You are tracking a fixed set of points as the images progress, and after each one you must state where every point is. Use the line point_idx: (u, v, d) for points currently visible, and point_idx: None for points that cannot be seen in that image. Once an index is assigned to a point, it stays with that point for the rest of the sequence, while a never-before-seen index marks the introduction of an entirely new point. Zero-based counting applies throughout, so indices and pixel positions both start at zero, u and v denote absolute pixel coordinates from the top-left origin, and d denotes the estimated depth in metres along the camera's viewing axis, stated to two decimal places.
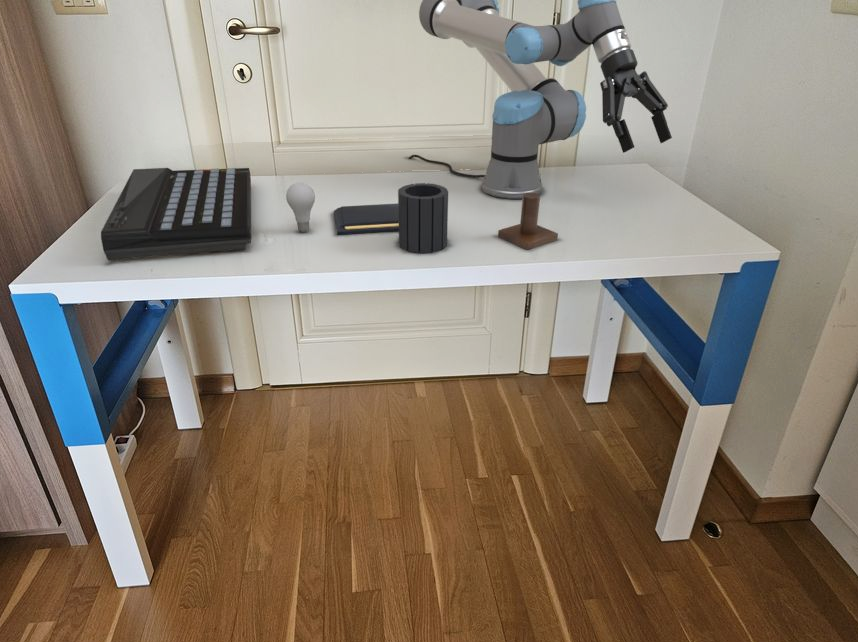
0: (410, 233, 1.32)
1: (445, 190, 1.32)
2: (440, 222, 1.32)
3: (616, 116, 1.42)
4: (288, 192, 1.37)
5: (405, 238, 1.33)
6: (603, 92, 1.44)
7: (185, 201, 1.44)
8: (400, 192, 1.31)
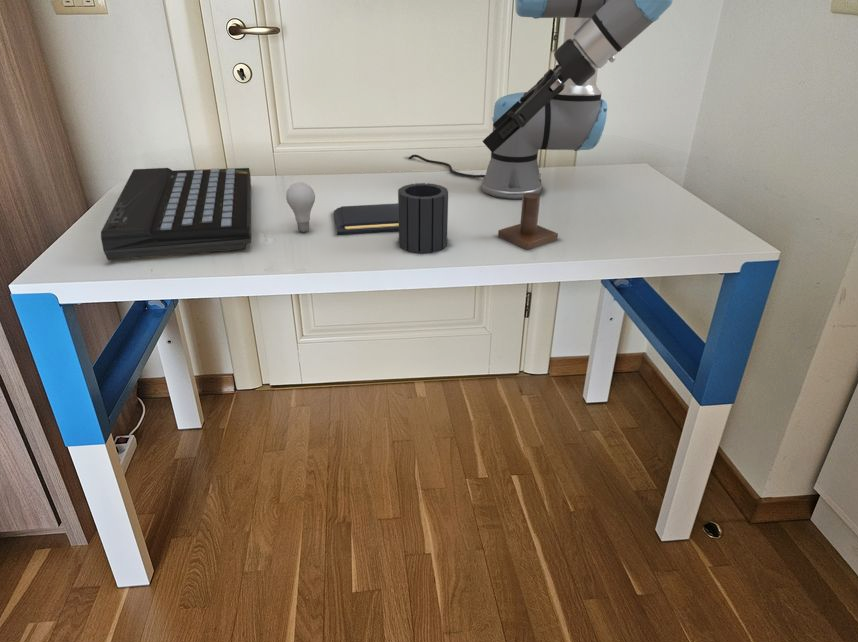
0: (410, 233, 1.32)
1: (445, 190, 1.32)
2: (440, 222, 1.32)
3: None
4: (288, 192, 1.37)
5: (405, 238, 1.33)
6: (545, 87, 1.10)
7: (185, 201, 1.44)
8: (400, 192, 1.31)
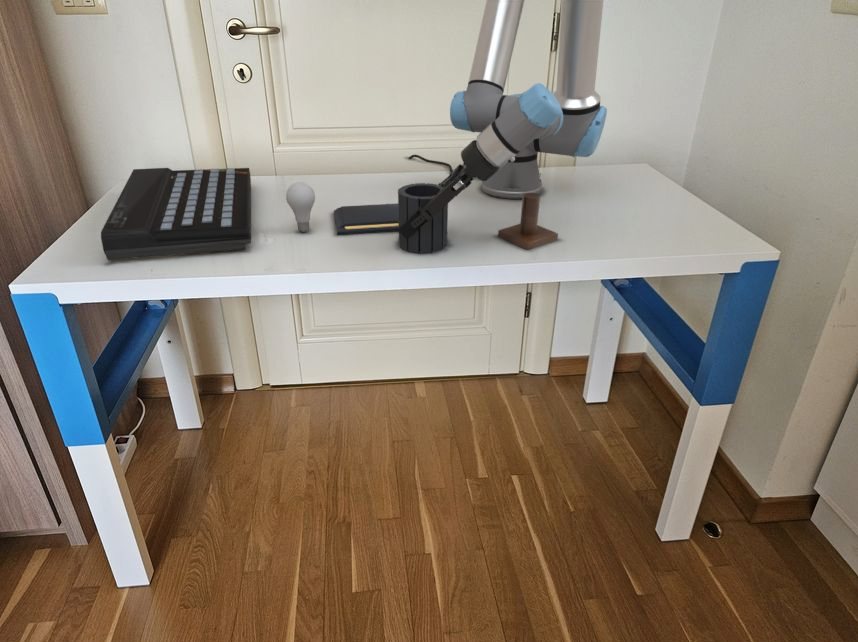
0: None
1: None
2: (440, 222, 1.32)
3: None
4: (288, 192, 1.37)
5: (405, 238, 1.33)
6: (448, 188, 1.23)
7: (185, 201, 1.44)
8: (400, 192, 1.31)
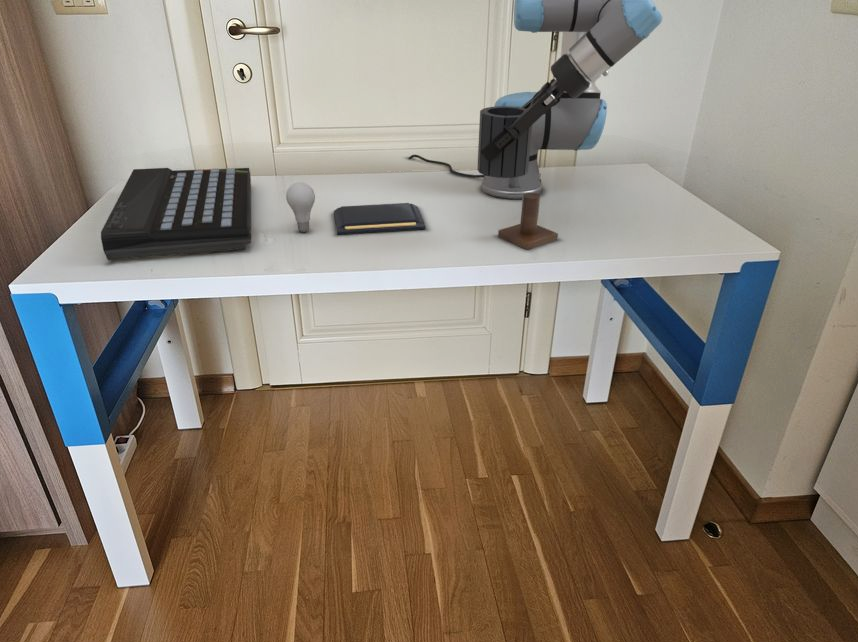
0: None
1: None
2: (524, 144, 1.26)
3: None
4: (288, 192, 1.37)
5: (486, 162, 1.28)
6: (538, 102, 1.17)
7: (185, 201, 1.44)
8: (483, 112, 1.25)
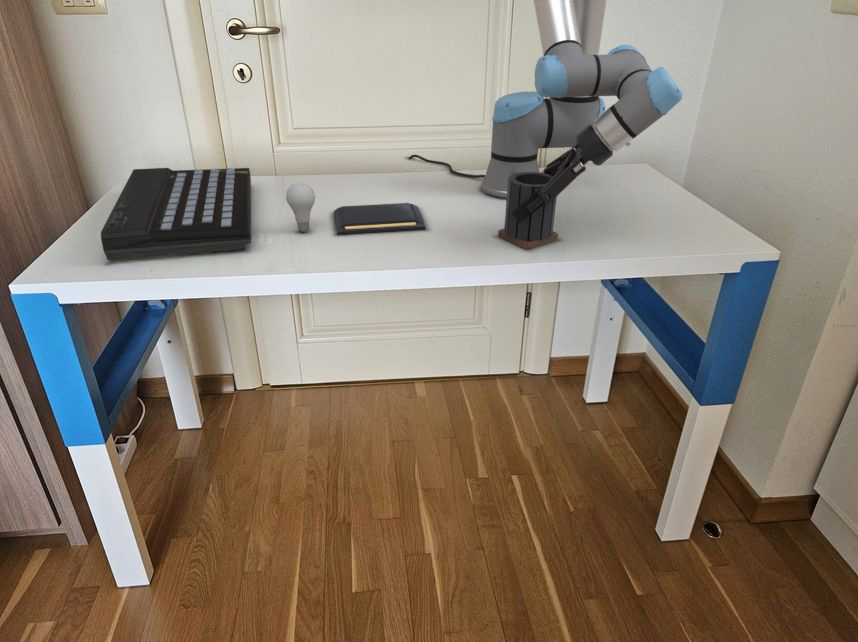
0: None
1: None
2: (550, 210, 1.33)
3: None
4: (288, 192, 1.37)
5: (514, 226, 1.35)
6: (568, 170, 1.24)
7: (185, 201, 1.44)
8: (511, 180, 1.33)
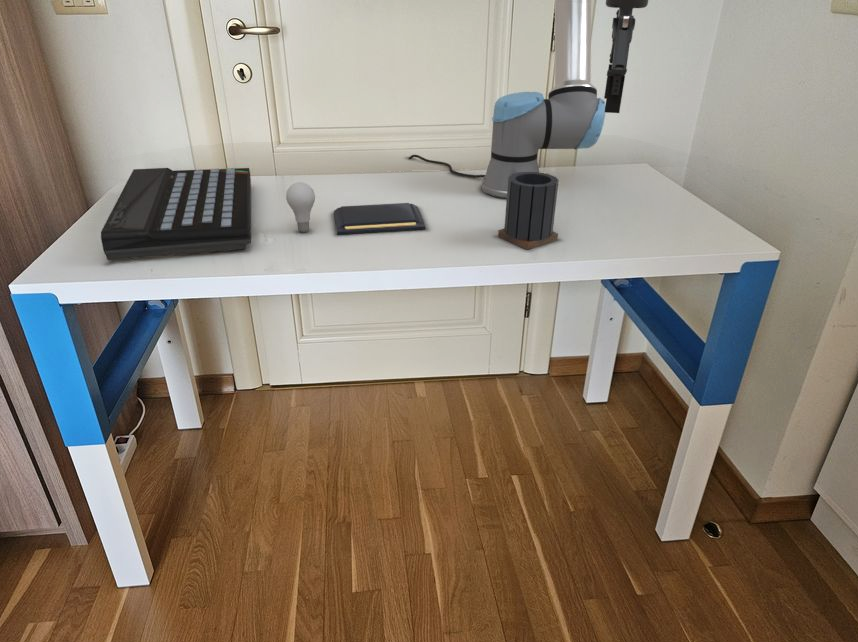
0: (520, 221, 1.34)
1: (555, 178, 1.34)
2: (550, 210, 1.33)
3: None
4: (288, 192, 1.37)
5: (514, 226, 1.35)
6: (619, 31, 1.16)
7: (185, 201, 1.44)
8: (511, 180, 1.33)
